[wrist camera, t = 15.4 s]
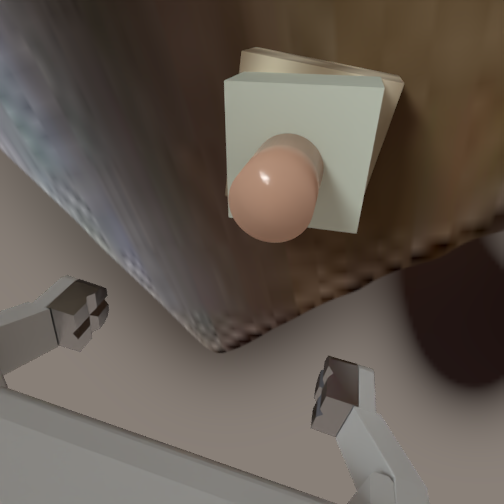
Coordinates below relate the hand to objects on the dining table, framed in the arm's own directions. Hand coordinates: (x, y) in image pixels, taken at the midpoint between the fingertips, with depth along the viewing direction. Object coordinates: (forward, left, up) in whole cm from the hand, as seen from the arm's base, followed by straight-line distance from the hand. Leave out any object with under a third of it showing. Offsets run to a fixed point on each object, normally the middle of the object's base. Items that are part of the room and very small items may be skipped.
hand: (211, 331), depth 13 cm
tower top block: (0, +1, -21) cm, 21 cm away
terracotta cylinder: (0, 0, -16) cm, 16 cm away
